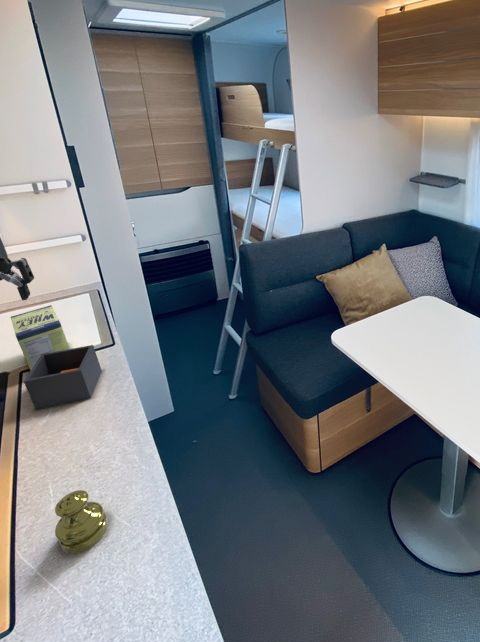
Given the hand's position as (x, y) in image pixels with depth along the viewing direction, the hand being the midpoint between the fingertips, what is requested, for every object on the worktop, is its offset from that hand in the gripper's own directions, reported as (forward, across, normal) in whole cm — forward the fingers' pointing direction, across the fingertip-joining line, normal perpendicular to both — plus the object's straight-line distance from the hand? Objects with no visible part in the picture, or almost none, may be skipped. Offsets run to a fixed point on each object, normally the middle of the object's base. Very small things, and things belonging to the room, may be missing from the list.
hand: (4, 302), depth 101 cm
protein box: (+30, +4, -19) cm, 36 cm away
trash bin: (+30, -6, -1) cm, 31 cm away
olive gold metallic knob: (+30, -21, +48) cm, 61 cm away
